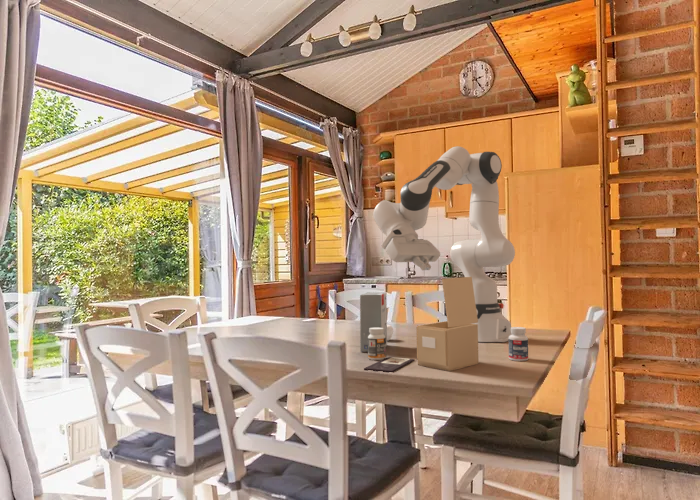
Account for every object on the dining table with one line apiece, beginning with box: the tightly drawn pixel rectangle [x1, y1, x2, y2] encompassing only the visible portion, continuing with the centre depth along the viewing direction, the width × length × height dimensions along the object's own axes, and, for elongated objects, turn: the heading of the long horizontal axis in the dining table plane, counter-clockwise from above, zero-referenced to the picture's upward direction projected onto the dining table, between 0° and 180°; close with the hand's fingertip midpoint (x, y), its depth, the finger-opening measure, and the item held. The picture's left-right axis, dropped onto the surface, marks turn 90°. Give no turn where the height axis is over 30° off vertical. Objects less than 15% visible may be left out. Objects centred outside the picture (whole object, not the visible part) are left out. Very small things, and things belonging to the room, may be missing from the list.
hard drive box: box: [359, 291, 388, 353], centre depth 190 cm, size 16×8×20 cm, turn 168°
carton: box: [415, 320, 480, 372], centre depth 161 cm, size 15×12×12 cm
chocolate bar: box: [363, 356, 415, 373], centre depth 161 cm, size 9×1×18 cm
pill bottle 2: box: [508, 326, 529, 362], centre depth 166 cm, size 6×6×10 cm
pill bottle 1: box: [367, 327, 387, 361], centre depth 171 cm, size 6×6×10 cm
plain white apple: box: [387, 324, 394, 342], centre depth 207 cm, size 7×7×8 cm
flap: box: [441, 276, 478, 327], centre depth 157 cm, size 14×1×14 cm, turn 131°
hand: (427, 269), depth 166 cm, fingers closed
